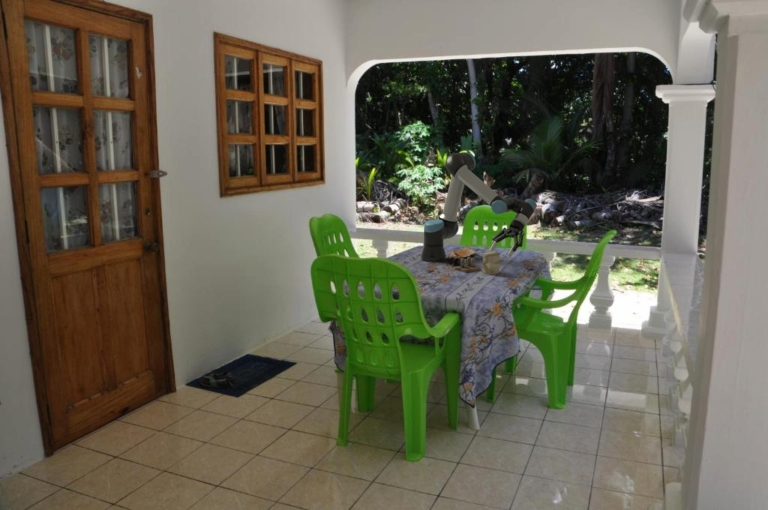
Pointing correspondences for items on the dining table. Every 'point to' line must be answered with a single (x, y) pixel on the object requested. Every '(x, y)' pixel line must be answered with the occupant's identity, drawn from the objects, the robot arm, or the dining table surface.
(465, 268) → the stand
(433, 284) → the dining table surface
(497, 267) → the beige mottled block
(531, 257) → the dining table surface
